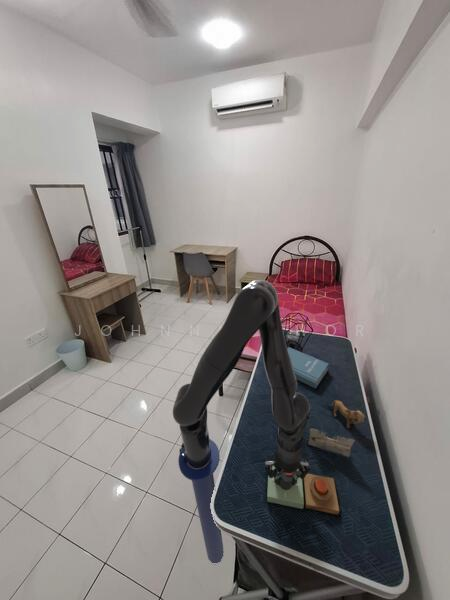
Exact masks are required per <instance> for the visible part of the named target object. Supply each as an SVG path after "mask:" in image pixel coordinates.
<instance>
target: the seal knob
mask: <svg viewBox="0 0 450 600" xmlns="http://www.w3.org/2000/svg"><path fill="white" fill-rule="evenodd" d="M292 481H293V476H292V474H291V473H283V475H282V476H281V477H279V485H280V487H281V488H282V489H284V490H289V489H290V488H291V487H292Z"/></svg>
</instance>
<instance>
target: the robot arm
mask: <svg viewBox="0 0 450 600" xmlns="http://www.w3.org/2000/svg"><path fill="white" fill-rule="evenodd" d="M257 332H259V333H258V334H259V337H260V343H261V354H262V361H263V367H264V372H265V375H266V379H267V380H268V381H267V382H268V385H269V387H270V398H271V399H270V400H271V413H272V417H273V419H274V422H275V424H276V426H277V430H276V431H277V432H276V439H275V447H274V448H275V449H274V458H273V459H272V460H269V459H268V458H265V459H264V467H265V472H266V473H267V476H268V475H269V477H270V478H273V477H274V482H275V483H276V484H277V485H279V477H281V476H282V475H283V473H291V474H292V476H293V481H292V485H294V486H295V484H297V480H298V478H301V479H302V480H303V479H304V478H305V476H306V475H307V474H309V472H310V470H311V468H310V464H309V463H310V462H309V460H308V459H305V460H303V461H301V460H302V454H303V440H304V433H305V430H306V428H307V426H308V422H309V419H310V417H311V410H312V409H311V404H310V401H309V400H308V398H307V397H306V396H305V395H304V394H303V393H301V392H299V391H298V388H299V385H298V384H299V383H298V380H297V379H296V376H295V372H294V369H293V366H292V363H291V359H290V356H289V353H288V346H287V342H286V338H285V335H284V329H283V324H282V320H281V311H280V303H279V294H278V291H277V289H276V287H275V286H274V285H273V284H272V283H271V282H270V281H267V280H265V279H256V280H253V281H251V282H249V283H248V284H247V285H245V286H244V287H243V288H242V289H240V290H239V292H238V293H237V295H236V297H235V299H234V301H233V303H232V305H231V308H230V310H229V313H228V315H227V317H226V319H225V321H224V323H223V325H222V327H220V330H219V331H218V332H217V333H216V334H215V336H214V337H213V338H212V339H211V341H210V342H209V344H208V346H207V347H206V348H205V350H204V351H203V353H202V355H201V357H200V358H199V361H198V363H197V365H196V368H195V370H194V372H193V375H192V378H191V381H190V383H185V384H183V385H182V386H181V387H180V388H179V390H178V391H177V394H176V398H175V400H174V404H173V407H172V417H173V419H174V421H175V423H176V424H178V425H179V431H180V436H181V441H182V443H181V447H180V448H179V454H180V456H181V457H184V462H185V463H187V464H188V466H189V467H190V468H191V469H193V470H201V469H204V468H205V467H206V466H207V465H208V464H209V463H210V461H211V457H212V454H211V448H210V441H209V439H210V435H209V434H210V433H209V426H208V405H209V404H210V402H211V400H212V399H213V397H215V395H216V393H217V392H218V391H219V389H220V388H221V387H222V385H223V384H224V382H226V380H227V379H228V377H229V376H230V374H231V373H232V372H233V370H234V369H235V368H236V366H237V365H238V362H239V361H240V359H241V357H242V355H243V352H244V350H245V348H246V346H247V345H248V343H249V341H250V340H251V339H252V338H253V337H254V335H255V334H256V333H257ZM272 466H274V467H275V469H274V470H272ZM298 469H299V470H298ZM297 470H298V471H297Z"/></svg>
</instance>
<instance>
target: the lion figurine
mask: <svg viewBox="0 0 450 600" xmlns="http://www.w3.org/2000/svg"><path fill="white" fill-rule="evenodd" d="M327 407H328V408H332V407H333V416H334V417H338V415H337V412H338V411H339V412H340V414H341V416H343V417H344V418H345V419H346V428H347V429H350V428H351V426H350V424H351V425H353V424H354V425H357V424H358V425H359V424H363V423H364V422H365V418H366V415H365V414H364V413H363V412H362V411H360V410H359V409H357V410H350V409H349V408H347V407H346V406H345V404H344V403H343V402H342V401H341V400H334V401H333V402H332V403H331V404H330V405H329V404H328V405H327Z"/></svg>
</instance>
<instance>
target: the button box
mask: <svg viewBox="0 0 450 600" xmlns="http://www.w3.org/2000/svg"><path fill="white" fill-rule="evenodd" d="M318 479H322V480H324V481H325V482H326V483H327V486H328V490H327V493H326V494H325V495H321V494H319V493H318V492H317V491H316V489H315V483H316V481H317V480H318ZM302 483H303V496H304V507H305V509H310V510H313V511H319V512H322V513H327V514H328V513H329V514H333V515H337V516H339V513H340V507H339V502H338V496H337V490H336V483H335V478H334V477H329V476H323V475H316V474H313V473H307V475H306V476H305V478H304V479H302Z"/></svg>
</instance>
